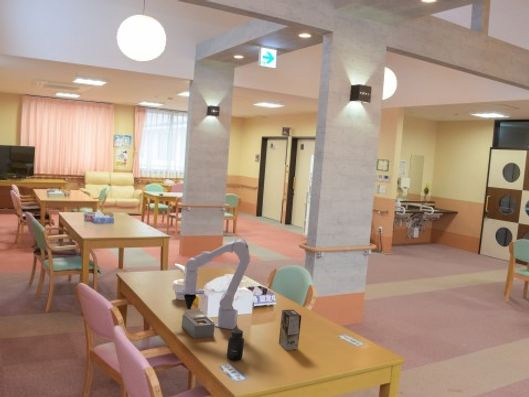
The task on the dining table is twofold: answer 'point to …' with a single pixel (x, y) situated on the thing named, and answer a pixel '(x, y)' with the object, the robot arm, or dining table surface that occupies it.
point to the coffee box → (289, 329)
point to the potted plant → (180, 281)
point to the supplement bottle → (235, 345)
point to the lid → (195, 313)
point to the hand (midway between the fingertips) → (188, 308)
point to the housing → (198, 326)
